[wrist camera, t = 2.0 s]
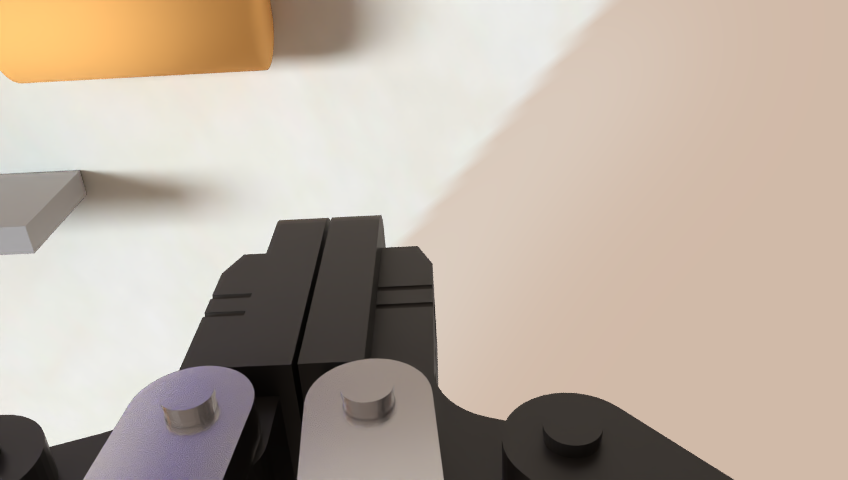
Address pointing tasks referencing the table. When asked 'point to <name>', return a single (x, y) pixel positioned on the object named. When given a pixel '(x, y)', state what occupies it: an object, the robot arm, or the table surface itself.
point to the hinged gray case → (35, 207)
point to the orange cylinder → (132, 38)
